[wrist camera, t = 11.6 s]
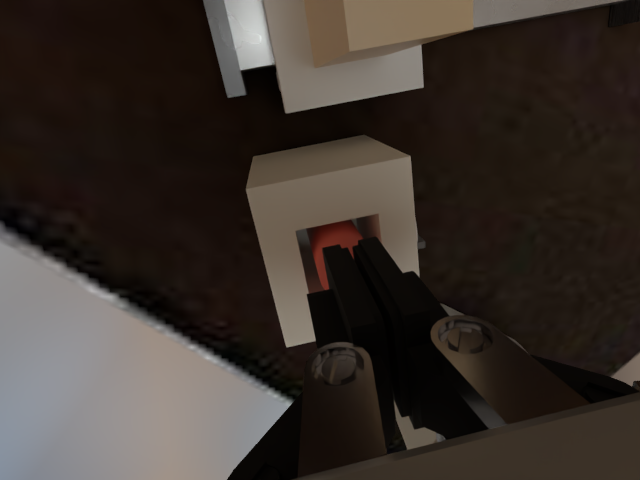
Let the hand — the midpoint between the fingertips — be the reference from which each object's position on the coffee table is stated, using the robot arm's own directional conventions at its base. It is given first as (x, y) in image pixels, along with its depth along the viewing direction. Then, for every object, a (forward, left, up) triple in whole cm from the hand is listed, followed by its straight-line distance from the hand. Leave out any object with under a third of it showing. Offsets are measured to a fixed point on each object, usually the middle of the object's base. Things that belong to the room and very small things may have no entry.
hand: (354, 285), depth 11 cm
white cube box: (+1, 0, -10) cm, 10 cm away
